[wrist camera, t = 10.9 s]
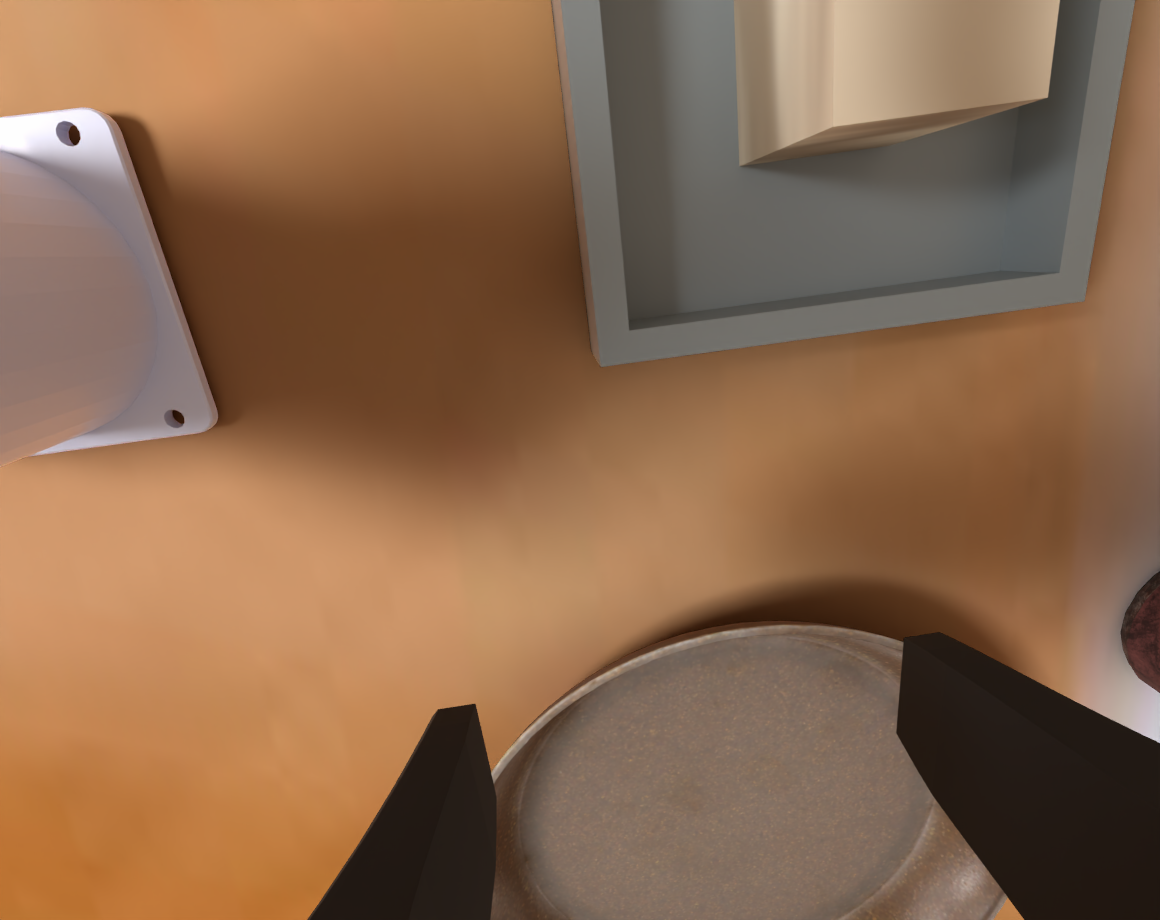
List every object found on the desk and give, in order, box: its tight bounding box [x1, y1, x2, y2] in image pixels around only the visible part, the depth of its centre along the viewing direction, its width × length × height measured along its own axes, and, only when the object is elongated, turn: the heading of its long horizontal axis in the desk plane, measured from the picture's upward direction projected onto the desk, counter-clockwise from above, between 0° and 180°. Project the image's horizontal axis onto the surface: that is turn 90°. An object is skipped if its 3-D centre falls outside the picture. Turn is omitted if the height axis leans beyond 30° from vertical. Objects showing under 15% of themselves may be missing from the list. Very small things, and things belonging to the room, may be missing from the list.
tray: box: [551, 0, 1135, 367], centre depth 14 cm, size 13×13×2 cm
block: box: [734, 0, 1060, 166], centre depth 12 cm, size 4×4×5 cm
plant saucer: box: [490, 621, 1007, 920], centre depth 22 cm, size 21×21×3 cm
